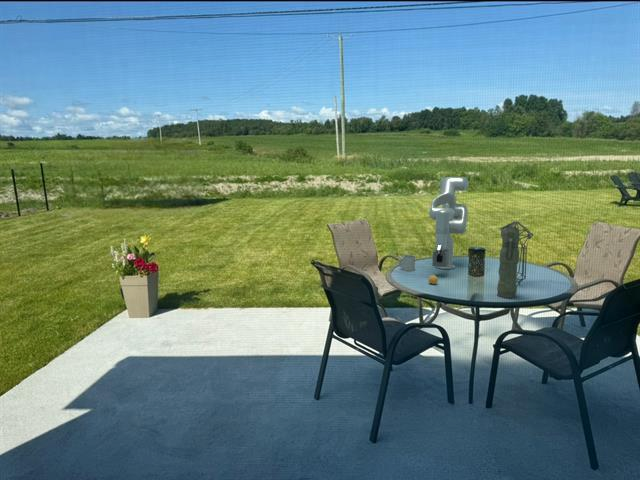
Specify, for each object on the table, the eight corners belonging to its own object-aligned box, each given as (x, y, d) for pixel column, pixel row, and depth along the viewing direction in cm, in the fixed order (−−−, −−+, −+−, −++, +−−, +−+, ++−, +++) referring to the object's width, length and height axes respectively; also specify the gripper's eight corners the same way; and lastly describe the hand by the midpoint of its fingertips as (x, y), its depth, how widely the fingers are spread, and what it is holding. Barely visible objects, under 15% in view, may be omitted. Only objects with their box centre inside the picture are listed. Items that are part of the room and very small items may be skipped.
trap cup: (435, 262, 271) (435, 248, 269) (448, 263, 268) (449, 249, 266) (432, 266, 264) (433, 251, 262) (445, 267, 261) (446, 252, 259)
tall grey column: (498, 298, 223) (503, 228, 217) (495, 292, 234) (500, 225, 228) (517, 300, 221) (523, 229, 214) (514, 293, 232) (519, 226, 226)
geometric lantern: (523, 281, 256) (529, 220, 249) (528, 289, 241) (535, 224, 234) (494, 278, 260) (499, 218, 253) (496, 286, 245) (502, 223, 238)
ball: (429, 282, 252) (429, 273, 251) (438, 283, 250) (438, 274, 249) (427, 284, 248) (427, 275, 247) (436, 285, 246) (437, 276, 245)
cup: (413, 271, 277) (414, 257, 275) (397, 270, 279) (398, 256, 278) (415, 269, 283) (415, 255, 282) (399, 268, 286) (399, 254, 285)
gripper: (438, 227, 271) (437, 256, 274) (432, 233, 255) (431, 263, 259) (451, 228, 267) (450, 257, 271) (445, 234, 252) (444, 264, 256)
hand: (440, 260), depth 265 cm, fingers closed on trap cup, 7 cm apart
